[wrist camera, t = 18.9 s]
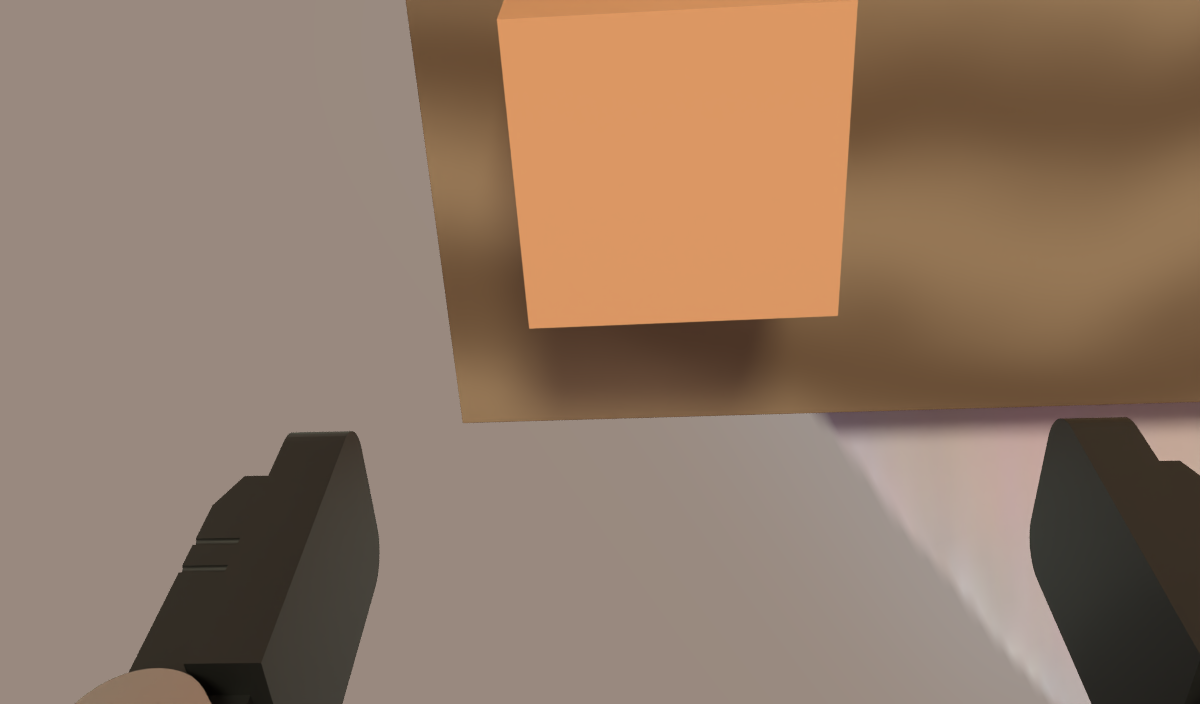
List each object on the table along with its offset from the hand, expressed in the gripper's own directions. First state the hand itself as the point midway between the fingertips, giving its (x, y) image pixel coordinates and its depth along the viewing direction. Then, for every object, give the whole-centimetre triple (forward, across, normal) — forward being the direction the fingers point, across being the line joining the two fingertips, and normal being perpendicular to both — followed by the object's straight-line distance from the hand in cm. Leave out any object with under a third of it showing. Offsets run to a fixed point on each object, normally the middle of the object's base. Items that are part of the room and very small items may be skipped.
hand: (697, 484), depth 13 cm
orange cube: (+14, 0, 0) cm, 14 cm away
